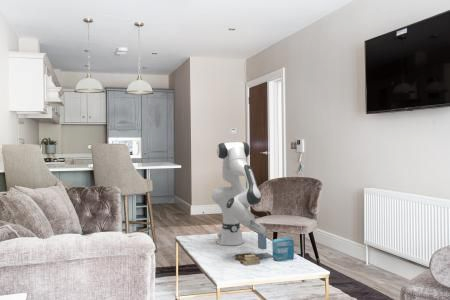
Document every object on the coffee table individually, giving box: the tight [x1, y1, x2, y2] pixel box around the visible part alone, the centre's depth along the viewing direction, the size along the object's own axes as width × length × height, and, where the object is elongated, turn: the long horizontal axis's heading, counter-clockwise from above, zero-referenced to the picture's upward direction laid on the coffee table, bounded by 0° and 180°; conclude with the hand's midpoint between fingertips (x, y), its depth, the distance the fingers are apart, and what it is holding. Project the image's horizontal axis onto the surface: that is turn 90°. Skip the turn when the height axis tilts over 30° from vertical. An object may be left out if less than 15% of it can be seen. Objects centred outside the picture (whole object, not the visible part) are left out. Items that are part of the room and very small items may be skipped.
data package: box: [271, 237, 295, 262], centre depth 267 cm, size 12×4×12 cm, turn 113°
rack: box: [234, 252, 257, 264], centre depth 266 cm, size 10×10×3 cm
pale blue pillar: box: [257, 226, 267, 251], centre depth 275 cm, size 6×3×13 cm, turn 21°
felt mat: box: [251, 252, 273, 260], centre depth 276 cm, size 10×11×1 cm
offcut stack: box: [241, 255, 261, 266], centre depth 259 cm, size 5×9×4 cm, turn 111°
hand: (262, 234), depth 276 cm, fingers closed on pale blue pillar, 5 cm apart
